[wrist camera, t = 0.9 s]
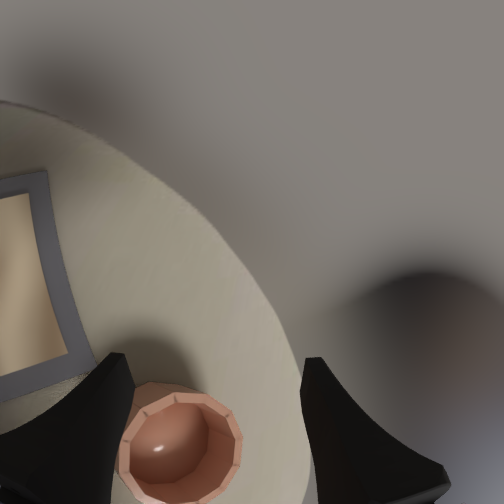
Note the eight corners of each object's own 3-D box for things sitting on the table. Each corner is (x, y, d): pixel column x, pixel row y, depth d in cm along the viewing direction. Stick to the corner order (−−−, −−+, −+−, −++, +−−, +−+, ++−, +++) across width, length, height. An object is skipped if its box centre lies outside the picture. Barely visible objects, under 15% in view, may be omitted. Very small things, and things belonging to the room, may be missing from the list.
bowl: (138, 503, 19) (161, 529, 16) (81, 411, 19) (92, 430, 16) (225, 452, 27) (256, 467, 23) (186, 364, 27) (215, 370, 23)
